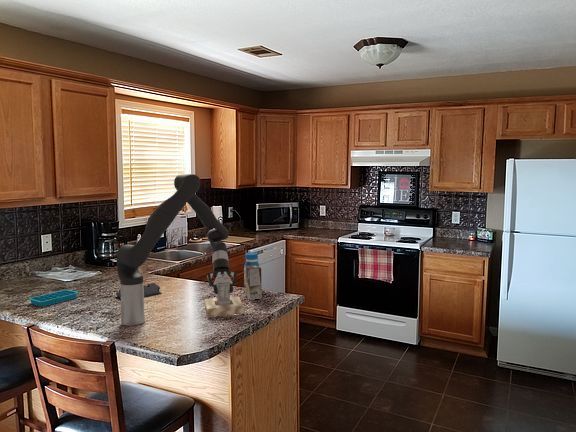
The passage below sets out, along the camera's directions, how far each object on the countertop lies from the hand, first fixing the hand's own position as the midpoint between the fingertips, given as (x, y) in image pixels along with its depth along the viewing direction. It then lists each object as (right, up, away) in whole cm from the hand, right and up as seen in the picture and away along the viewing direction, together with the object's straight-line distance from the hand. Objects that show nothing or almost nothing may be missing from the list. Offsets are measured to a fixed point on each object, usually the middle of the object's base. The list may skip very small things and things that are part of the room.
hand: (223, 292), depth 205 cm
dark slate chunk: (-49, -7, +31) cm, 58 cm away
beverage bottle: (+10, -5, +40) cm, 41 cm away
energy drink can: (0, -7, +2) cm, 8 cm away
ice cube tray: (-88, -8, +20) cm, 90 cm away
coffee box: (+12, -7, +24) cm, 28 cm away
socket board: (0, -9, +2) cm, 9 cm away
